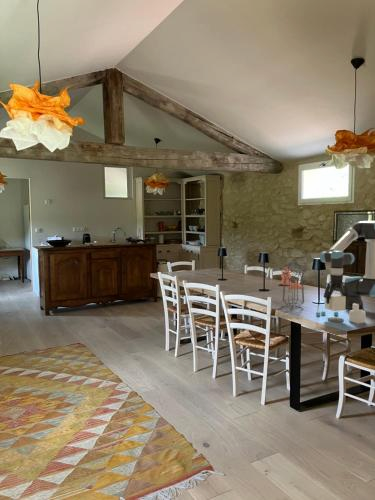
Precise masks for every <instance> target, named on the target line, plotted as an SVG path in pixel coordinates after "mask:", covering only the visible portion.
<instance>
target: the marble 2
mask: <svg viewBox="0 0 375 500" xmlns="http://www.w3.org/2000/svg"><path fill="white" fill-rule="evenodd" d="M326 314H327V313H326V311H324V310H323V311H321V312H320V315H321V316H326Z"/></svg>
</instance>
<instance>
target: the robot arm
mask: <svg viewBox="0 0 375 500" xmlns="http://www.w3.org/2000/svg"><path fill="white" fill-rule="evenodd" d="M359 238H364V241H365V242H366V253H365V272H364V275H363V276H347V277H345V278H344V275H343V274H344V265H352V264H353V263H354V262H355V259H356V258H355V255H354V254H353V253H351V252H344V250H346V248H348V247H349V246H350V244H352V242H353V241H355V240H357V239H359ZM319 259H320V262H322V263H326V264H330V282H326V283H325V290H324V294H323V298H324V299H325V298H326V303H327V308H328V309H327V310H329V309H331V299H330V297H331V295H332V294H334V291H335V290H336V289H337V290H338V291H339V292H340V295H342V296H346V302H345V309H348V310H353V304H354V303H360V304H362V305H363V309H364V305H365V304H364V303H363V302H364V301H363V299H362V296H367V297H371V298H375V220H361V221H358V222H355V223H353V224H351V225H350V226H349V227H348V228H347V229H346V230H345V233H344V234H343V235H342V236H341V237H340V238H339V239H338V240H337V241H336V242H335V243H334V244H333V245H332V246H331V247H330V248H329V249H328V250H327V251H322V252H320V255H319ZM343 280H344V282H343Z"/></svg>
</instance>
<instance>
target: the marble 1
mask: <svg viewBox="0 0 375 500" xmlns="http://www.w3.org/2000/svg"><path fill="white" fill-rule="evenodd" d="M315 316H316V317H320V316H321V312H320V311H317V312H316V313H315Z"/></svg>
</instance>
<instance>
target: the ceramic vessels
mask: <svg viewBox="0 0 375 500" xmlns="http://www.w3.org/2000/svg"><path fill="white" fill-rule="evenodd" d="M282 270H283V269H282ZM282 270H280V271H281V275H280V277H281V281H280V285H282V286H288V287H287V289H289V279H288V280H286V283H285V282H284V273H283V272H284V271H285V270H286V269H285V270H283V271H282ZM287 270H288V269H287ZM289 272H291V271H289ZM289 272H288V274H285V278H288V277H289V278H290V279H292V272H291V273H289ZM285 273H287V272H286V271H285ZM286 275H288V276H287V277H286ZM295 280H296V281H294V283H292V287H291V281H290V290H294V284H295V290H297V279H295ZM302 289H305V287H304V286H303V285H300V284H299V283H298V290H302Z"/></svg>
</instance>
